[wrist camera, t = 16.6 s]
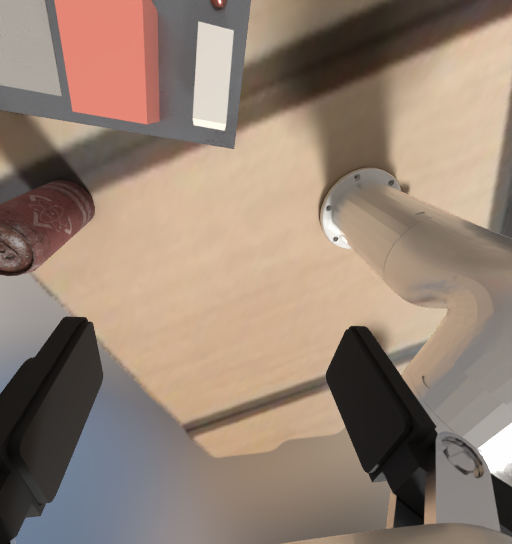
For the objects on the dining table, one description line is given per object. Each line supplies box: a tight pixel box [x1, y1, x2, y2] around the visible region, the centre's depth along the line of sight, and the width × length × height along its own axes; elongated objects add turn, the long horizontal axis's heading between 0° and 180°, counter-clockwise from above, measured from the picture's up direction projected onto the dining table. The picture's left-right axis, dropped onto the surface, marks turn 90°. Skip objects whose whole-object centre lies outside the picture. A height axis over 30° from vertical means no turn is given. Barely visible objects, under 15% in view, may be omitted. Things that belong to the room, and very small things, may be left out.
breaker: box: [193, 21, 234, 131], centre depth 25 cm, size 3×8×2 cm, turn 170°
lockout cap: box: [54, 0, 160, 124], centre depth 23 cm, size 6×9×6 cm, turn 170°
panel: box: [0, 0, 251, 149], centre depth 26 cm, size 25×14×4 cm, turn 80°
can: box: [0, 180, 95, 276], centre depth 29 cm, size 6×6×14 cm
